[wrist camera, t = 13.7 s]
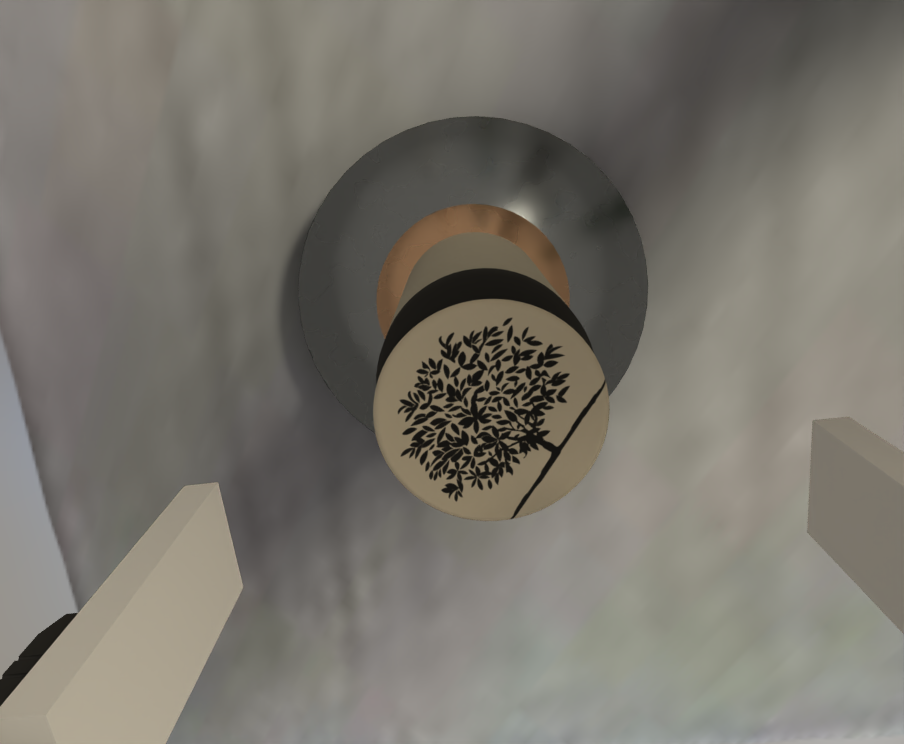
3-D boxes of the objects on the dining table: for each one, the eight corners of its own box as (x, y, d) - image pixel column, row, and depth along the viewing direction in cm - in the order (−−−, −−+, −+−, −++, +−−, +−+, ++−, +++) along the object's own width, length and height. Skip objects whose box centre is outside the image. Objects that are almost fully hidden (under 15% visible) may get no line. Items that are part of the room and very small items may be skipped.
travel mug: (376, 313, 38) (314, 436, 21) (463, 201, 37) (472, 237, 19) (484, 395, 40) (507, 572, 23) (573, 291, 38) (671, 399, 21)
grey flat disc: (632, 98, 37) (643, 93, 35) (643, 431, 43) (653, 446, 41) (276, 141, 38) (265, 140, 36) (335, 463, 44) (329, 479, 42)
